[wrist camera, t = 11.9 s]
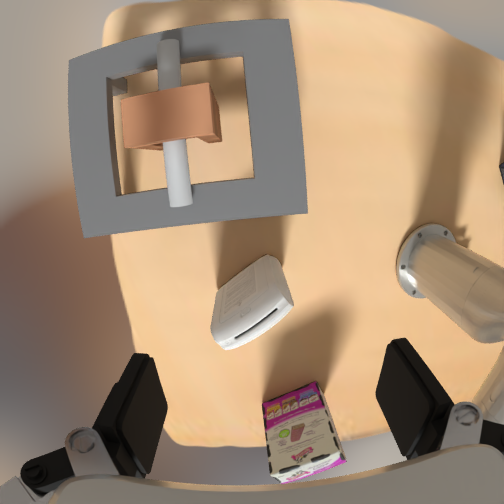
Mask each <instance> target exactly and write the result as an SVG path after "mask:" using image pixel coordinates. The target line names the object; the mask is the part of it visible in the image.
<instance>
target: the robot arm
mask: <svg viewBox="0 0 504 504" xmlns="http://www.w3.org/2000/svg"><path fill="white" fill-rule="evenodd" d="M396 275H397V279H398V282H399V284H400V286H401V288H402V289H403V290H404V291H405V292H406V293H407V294H408V295H410V296H411V297H414V298H427V299H429V300H430V301H431V302H432V303H433V304H434V305H436V306H437V307H438V308H439V309H440V310H441V311H442V312H443V313H445V314H446V315H447V316H448V317H449V318H450V319H451V320H452V321H454V322H455V323H456V324H457V325H458V326H459V327H460V328H461V329H462V330H463V331H464V332H465V333H467V334H468V335H469V336H470V337H471V338H472V339H474V340H476V341H478V342H481V343H496V342H500V341H504V268H503V267H501V266H499V265H498V264H496V263H494V262H492V261H490V260H488V259H487V258H485V257H483V256H481V255H479V254H477V253H475V252H473V251H472V250H469V249H467V248H465V247H463V246H461V245H459V244H457V243H456V241H455V238H454V236H453V234H452V233H451V232H450V231H449V229H447V228H446V227H444V226H442V225H439V224H435V223H431V224H426V225H422V226H421V227H419V228H417V229H416V230H415V231H413V232H412V233H411V234H410V235H409V236H408V238H407V239H406V240H405V242H404V244H403V245H402V247H401V250H400V252H399V255H398V258H397V265H396ZM376 399H377V401H378V403H379V405H380V407H381V409H382V412H383V414H384V416H385V418H386V420H387V423H388V425H389V427H390V429H391V432H392V433H393V436H394V438H395V440H396V443H397V445H398V447H399V449H400V452H401V454H402V456H406V458H407V460H406V461H403V462H399V463H396V464H392V465H389V466H385V467H381V468H377V469H373V470H369V471H364V472H360V473H355V474H350V475H345V476H339V477H334V478H328V479H321V480H314V481H307V482H297V483H286V484H272V485H247V486H227V485H226V486H225V485H201V484H188V483H177V482H167V481H159V480H151V479H145V476H146V474H149V473H150V472H151V468H152V464H153V461H154V457H155V453H156V449H157V446H158V442H159V439H160V435H161V431H162V428H163V424H164V421H165V417H166V414H167V409H168V406H167V401H166V398H165V395H164V392H163V389H162V386H161V383H160V379H159V376H158V373H157V369H156V366H155V362H154V359H153V358H152V357H149V355H148V354H143V353H134V354H133V355H132V357H131V359H130V361H129V363H128V365H127V366H126V368H125V370H124V372H123V374H122V376H121V378H120V380H119V382H117V383H115V385H114V386H113V388H112V390H111V392H110V394H109V395H108V397H107V399H106V401H105V403H104V405H103V407H102V409H101V411H100V413H99V415H98V417H97V419H96V421H95V423H94V425H93V427H92V428H89V427H81V428H76V429H74V430H72V431H71V432H70V433H69V434H68V435H67V437H66V439H65V447H63V448H61V449H58V450H56V451H53V452H51V453H48V454H45V455H42V456H40V457H37V458H34V459H31V460H29V461H27V462H26V463H25V464H24V465H23V467H22V469H21V473H20V474H21V476H20V477H19V478H17V477H16V476H15V477H13V478H12V479H10V480H9V481H7V482H6V483H5V484H3V485H2V486H0V504H504V347H503V349H502V351H501V353H500V355H499V357H498V359H497V361H496V363H495V364H494V366H493V368H492V369H491V371H490V373H489V374H488V376H487V378H486V379H485V381H484V382H483V384H482V385H481V387H480V389H479V390H478V392H477V393H476V395H475V397H474V398H473V400H472V402H460V403H457V404H456V405H454V403H453V402H452V400H451V398H450V397H449V395H448V394H447V393H446V391H445V390H444V388H443V387H442V386H441V384H440V383H439V381H438V380H437V379H436V377H435V376H434V375H433V373H432V372H431V370H430V369H429V368H428V366H427V365H426V364H425V362H424V361H423V360H422V358H421V357H420V356H419V354H418V353H417V352H416V350H415V349H414V348H413V346H412V345H411V344H410V343H409V341H408V340H407V339H406V338H400V339H394V340H392V341H391V343H390V344H388V345H387V348H386V353H385V357H384V361H383V365H382V369H381V373H380V377H379V381H378V385H377V388H376Z"/></svg>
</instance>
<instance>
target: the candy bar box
mask: <svg viewBox="0 0 504 504" xmlns="http://www.w3.org/2000/svg"><path fill="white" fill-rule="evenodd" d="M262 410H263V419H264V427H265V435H266V445H267V453H268V461H269V470H270V475H271V476H272V477H273V478H275V479H276V480H277V481H279V482H280V483H281V484H285V483H288V482H292V481H295V480H298V479H301V478H305V477H307V476H311V475H313V474H316V473H319V472H322V471H325V470H327V469H330V468H333V467H335V466H337V465H340V464H342V463H345V462H347V461H346V457H345V454H344V451H343V449H342V446H341V443H340V440H339V437H338V434H337V431H336V428H335V425H334V422H333V419H332V416H331V413H330V410H329V407H328V405H327V402H326V399H325V396H324V394H323V393H322V391H321V389H320V387H319V385H318V383H317V382H316V381H315V382H313V383H310V384H308V385H306V386H304V387H301V388H299V389H297V390H294V391H292V392H290V393H287V394H285V395H283V396H280V397H278V398H275V399H273V400H270V401H268V402H265V403H262Z"/></svg>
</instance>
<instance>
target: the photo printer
mask: <svg viewBox="0 0 504 504" xmlns="http://www.w3.org/2000/svg"><path fill="white" fill-rule="evenodd" d="M293 306H294V303H293V300H292V297H291V293H290V290H289V287H288V284H287V281H286V278H285V275H284V272H283V269H282V267H281V264H280V262H279V261H278V259H276V258H275V257H273V256H269V255H268V254H267V255H265V256H263V257H261V258H260V259H258V260H256V261H255V262H254V263H252V264H251V265H250V266H248V267H247V268H245V269H244V270H243V271H241V272H240V273H239V274H237V275H236V276H235V277H233V278H232V279H231V280H229V281H228V282H227V283H226V284H224V285H223V286H222V287H221V288H220V289H219V290H218V291H217V293H216V298H215V304H214V310H213V316H212V322H211V333H212V336H213V338H214V340H215V342H216V343H218V344H219V345H220V346H221V347H222V348H223V349H225V350H229V349H234V348H237V347H239V346H242V345H244V344H246V343H248V342H250V341H251V340H253V339H255V338H257V337H258V336H260V335H261V334H263V333H264V332H266V331H267V330H269V329H270V328H271V327H273V326H274V325H275V324H276V323H278V322H279V321H280V320H281V319H282V318H283V317H284V316H286V315H287V313H288V312H289V311H290V310H291V309H292V307H293Z"/></svg>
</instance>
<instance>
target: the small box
mask: <svg viewBox="0 0 504 504" xmlns="http://www.w3.org/2000/svg"><path fill="white" fill-rule="evenodd" d="M499 168H500V172H501V176H502V180H503V184H504V162H503V163H502V164H501V165H500V166H499Z"/></svg>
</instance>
